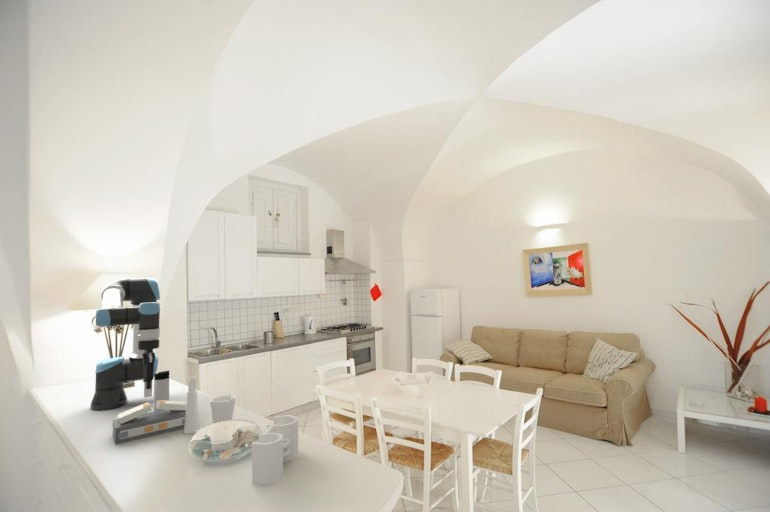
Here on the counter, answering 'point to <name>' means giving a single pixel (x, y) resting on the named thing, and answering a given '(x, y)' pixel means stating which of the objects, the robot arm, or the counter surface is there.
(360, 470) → the counter surface
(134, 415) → the rocker
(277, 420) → the pair of white mugs
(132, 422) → the switch unit
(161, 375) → the travel mug
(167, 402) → the plate
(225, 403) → the foam cup
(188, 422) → the cosmetic bottle
